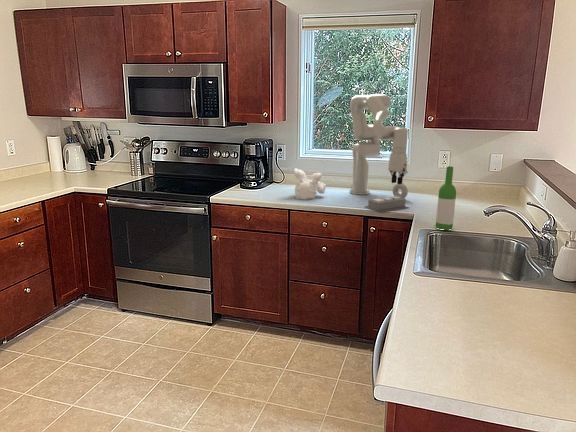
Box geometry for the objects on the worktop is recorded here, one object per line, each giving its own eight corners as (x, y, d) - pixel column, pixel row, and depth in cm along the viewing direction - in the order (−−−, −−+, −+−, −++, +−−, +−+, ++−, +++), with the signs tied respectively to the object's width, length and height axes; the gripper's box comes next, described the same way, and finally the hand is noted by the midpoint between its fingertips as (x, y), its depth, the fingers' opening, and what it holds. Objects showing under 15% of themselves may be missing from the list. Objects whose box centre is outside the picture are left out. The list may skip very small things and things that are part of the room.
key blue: (381, 203, 270) (381, 198, 269) (386, 202, 272) (387, 197, 272) (386, 205, 266) (387, 199, 266) (392, 204, 269) (393, 198, 268)
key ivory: (372, 204, 267) (372, 199, 266) (378, 203, 269) (378, 198, 268) (377, 206, 263) (378, 201, 262) (384, 205, 265) (384, 200, 265)
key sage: (389, 202, 273) (389, 196, 273) (395, 201, 276) (395, 196, 275) (395, 203, 270) (395, 198, 269) (401, 202, 272) (401, 197, 271)
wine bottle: (433, 226, 234) (439, 165, 227) (450, 227, 234) (456, 165, 226) (436, 231, 227) (443, 167, 219) (453, 232, 226) (460, 168, 218)
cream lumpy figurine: (287, 185, 281) (296, 163, 293) (290, 209, 295) (298, 186, 308) (319, 189, 276) (326, 166, 289) (320, 213, 291) (327, 190, 303)
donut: (408, 200, 287) (409, 184, 285) (404, 201, 285) (406, 184, 283) (394, 197, 295) (395, 181, 292) (390, 198, 292) (392, 182, 290)
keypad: (364, 207, 270) (364, 199, 269) (391, 202, 281) (391, 195, 280) (381, 212, 259) (382, 204, 258) (408, 208, 270) (409, 200, 268)
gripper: (383, 149, 270) (381, 181, 275) (405, 152, 256) (402, 186, 261) (393, 148, 274) (391, 180, 279) (415, 152, 260) (412, 185, 265)
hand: (396, 183), depth 270 cm, fingers open, 3 cm apart
